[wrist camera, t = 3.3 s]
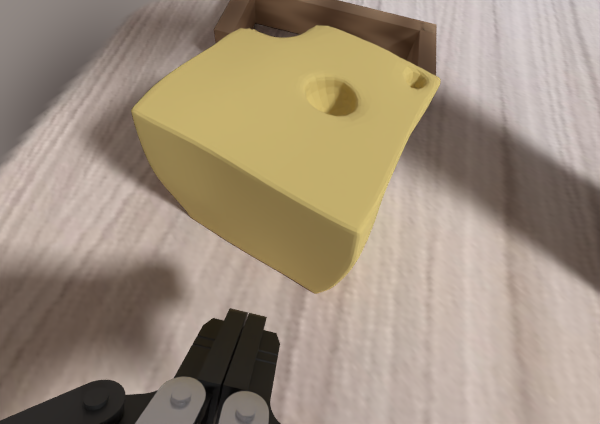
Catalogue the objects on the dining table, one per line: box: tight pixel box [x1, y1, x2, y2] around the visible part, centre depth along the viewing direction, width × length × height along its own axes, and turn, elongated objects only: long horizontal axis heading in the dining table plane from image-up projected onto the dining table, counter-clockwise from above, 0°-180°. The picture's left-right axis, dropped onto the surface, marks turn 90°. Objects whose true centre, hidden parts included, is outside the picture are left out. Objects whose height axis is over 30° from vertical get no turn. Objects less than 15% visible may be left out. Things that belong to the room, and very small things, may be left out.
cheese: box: [131, 25, 440, 294], centre depth 18 cm, size 10×11×10 cm
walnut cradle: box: [214, 0, 436, 76], centre depth 28 cm, size 18×8×3 cm, turn 78°
